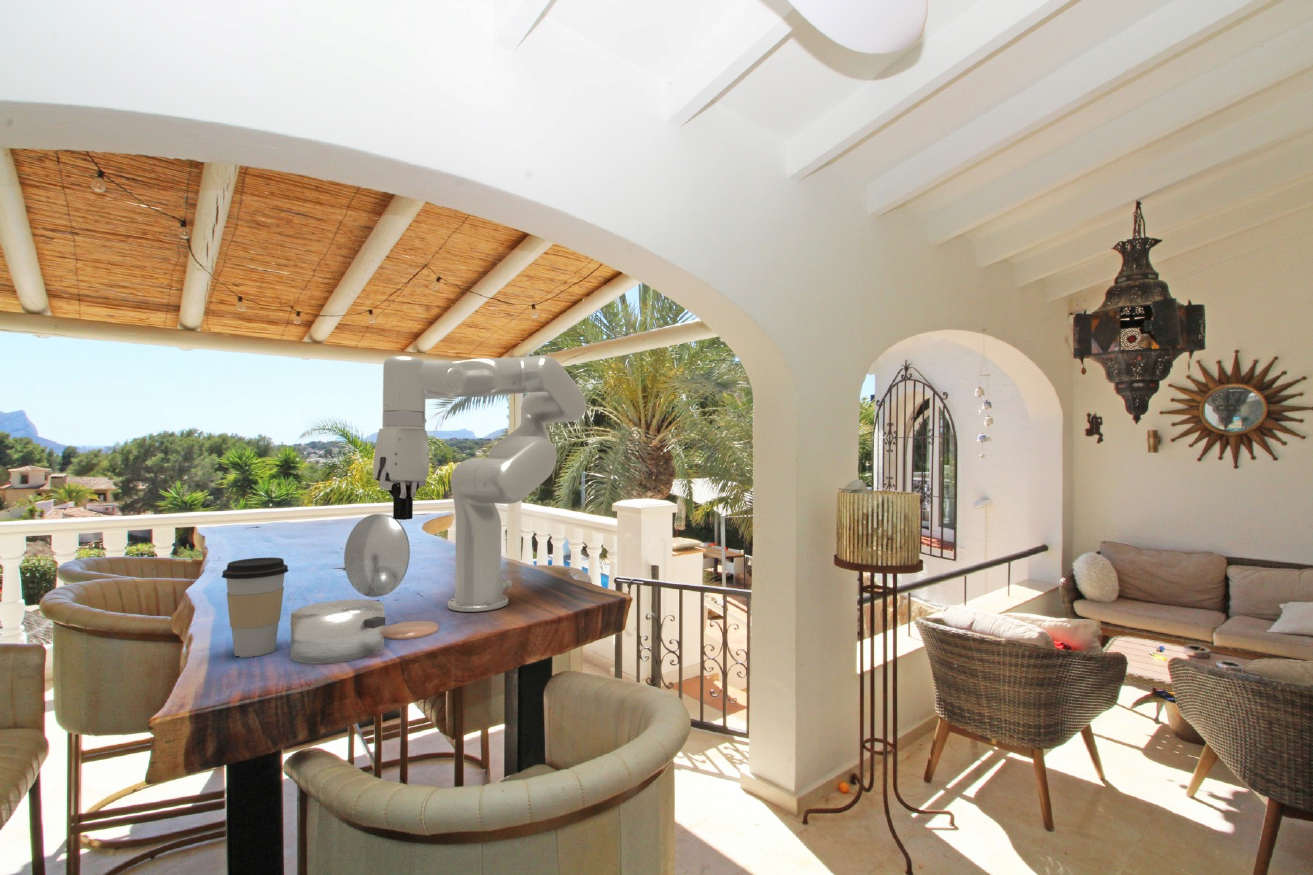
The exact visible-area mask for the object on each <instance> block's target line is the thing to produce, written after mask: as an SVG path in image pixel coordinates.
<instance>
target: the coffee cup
mask: <svg viewBox="0 0 1313 875" xmlns="http://www.w3.org/2000/svg"><path fill="white" fill-rule="evenodd" d="M288 567H289V566H288V565H287V564H285V561H284V559H283V558H281V557H258V558H257V557H254V558H252V557H251V558H245V559H238V560H234V561H230V562H227V566H226V569H224V570H223V571H222V575H221V578H222V579H226V580H225V581H226V587H227V588H226V589H227V592H226V599H227V600H226V601H227V606H228V607H227V610H228V616H229V618H228V619H229V626H230V628H231V636H232V645H233V646H232V647H233V654H234V657H236V656H240V657H239V658H253V656H255V657H260V656H265V655H269V654H271V653H273V652H275V650H276V648H277V647H276V646H277V639H278V631H279V623H280V621H281V616H282V614H281V613H282V608H283V607H282V605H283V598H284V589H285V588H284V582H285V574H286V573H288V572H289V571H290V570H289V569H288Z"/></svg>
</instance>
